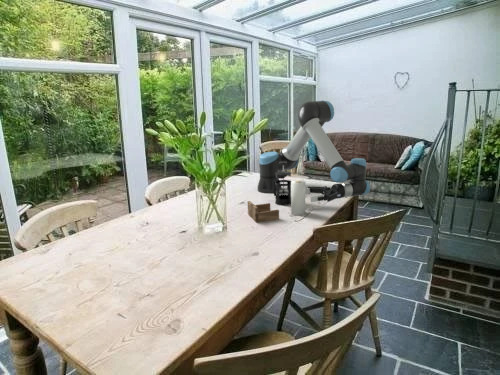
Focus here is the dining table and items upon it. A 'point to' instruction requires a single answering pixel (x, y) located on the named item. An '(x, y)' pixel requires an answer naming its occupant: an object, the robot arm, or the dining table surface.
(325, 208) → the dining table surface
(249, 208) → the holder
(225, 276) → the dining table surface
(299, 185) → the roll
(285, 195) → the french press
